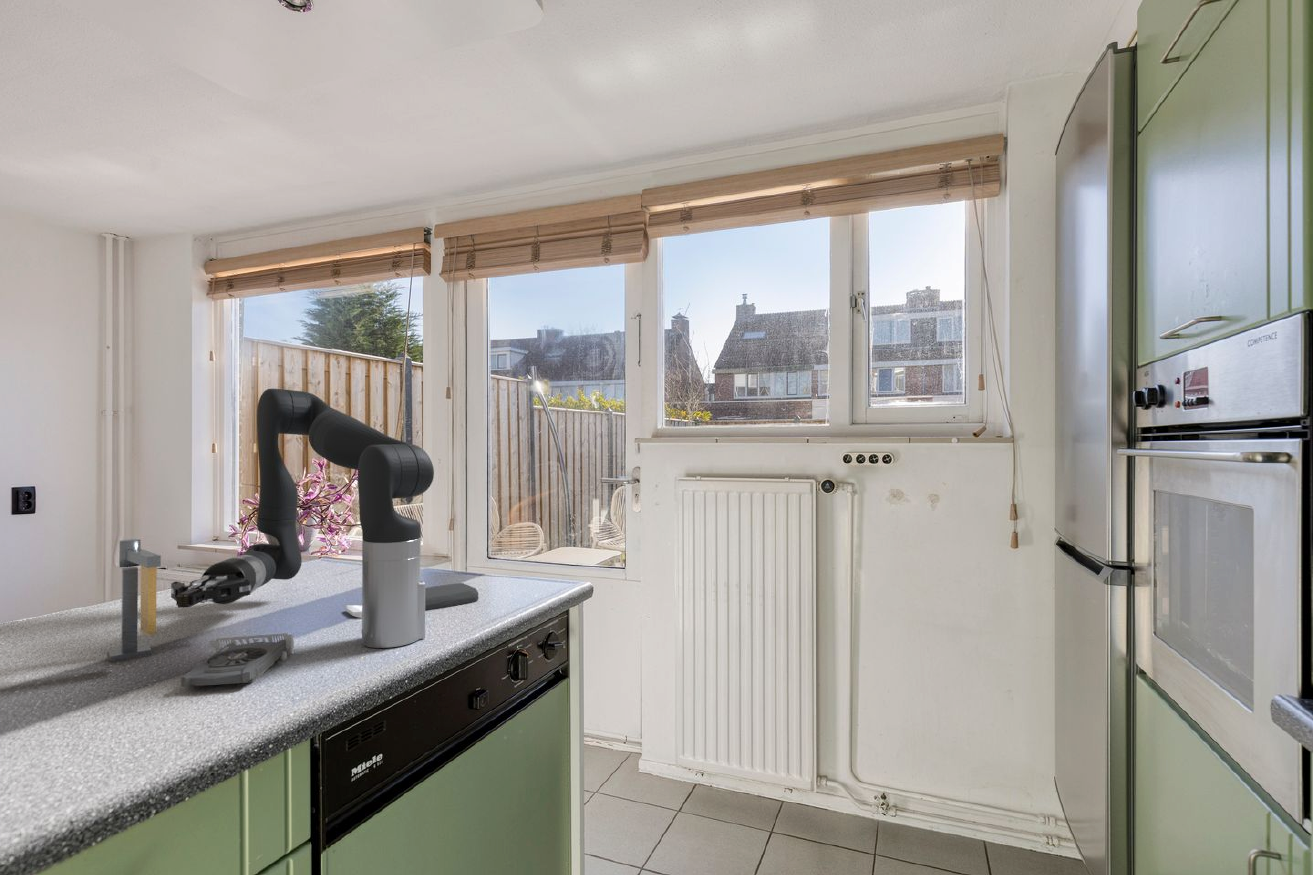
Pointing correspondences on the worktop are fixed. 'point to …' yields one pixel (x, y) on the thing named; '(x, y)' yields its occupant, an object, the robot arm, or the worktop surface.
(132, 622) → the mast
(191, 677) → the graphics card
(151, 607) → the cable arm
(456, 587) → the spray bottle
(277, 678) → the worktop surface
